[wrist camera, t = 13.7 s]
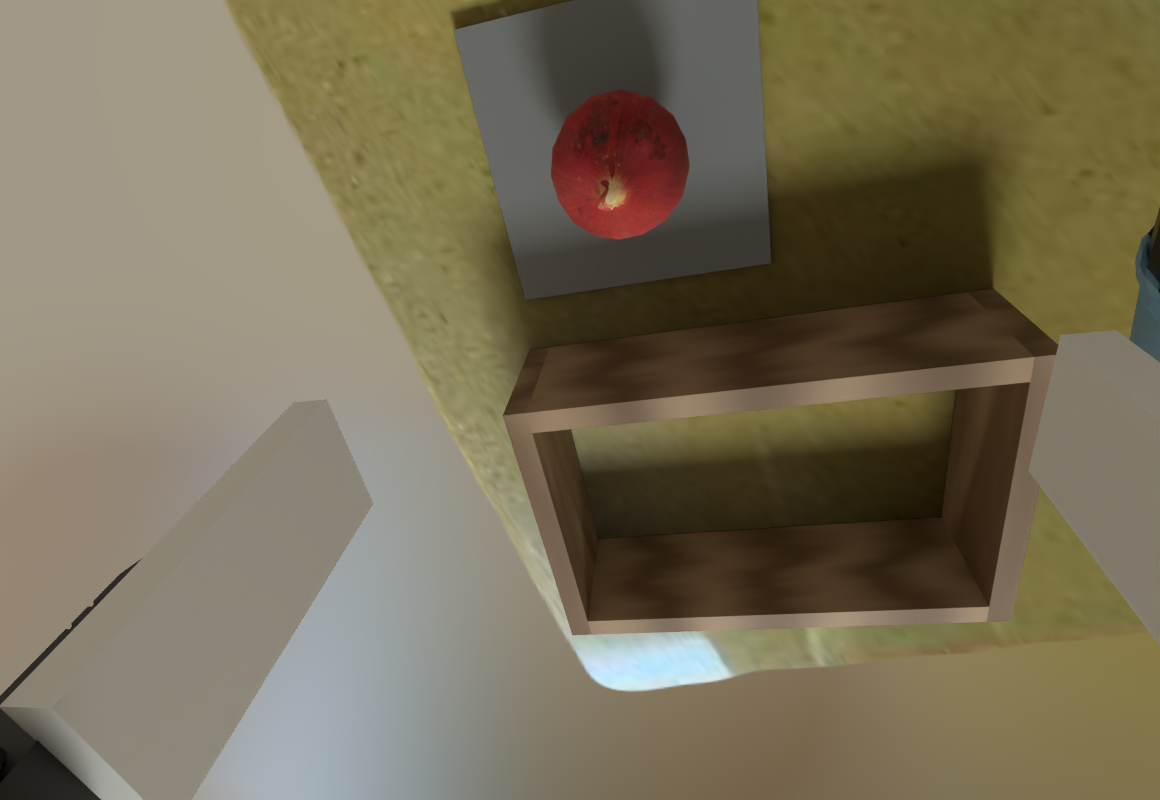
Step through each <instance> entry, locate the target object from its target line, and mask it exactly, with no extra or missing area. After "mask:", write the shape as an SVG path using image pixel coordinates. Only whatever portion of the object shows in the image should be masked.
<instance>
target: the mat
mask: <svg viewBox="0 0 1160 800" xmlns="http://www.w3.org/2000/svg"><path fill="white" fill-rule="evenodd" d="M453 31H454V35H455V38H456V42H457V46H458V50H459V53H460V57H461V61H462V65H463V68H464V72H465V76H466V80H467V83H468V87H469V91H470V94H471V98H472V102H473V106H474V109H475V113H476V117H477V121H478V124H479V128H480V132H481V136H482V139H483V143H484V147H485V151H486V154H487V158H488V162H489V166H490V169H491V173H492V177H493V181H494V184H495V188H496V192H497V196H498V199H499V203H500V207H501V211H502V214H503V218H504V222H505V226H506V229H507V233H508V237H509V241H510V244H511V248H512V252H513V256H514V259H515V263H516V267H517V271H518V274H519V278H520V282H521V286H522V289H523V293H524V297H525V300H530V299H536V298H543V297H550V296H556V295H563V294H570V293H576V292H583V291H590V290H596V289H603V288H610V287H617V286H623V285H630V284H637V283H643V282H650V281H657V280H663V279H670V278H677V277H683V276H690V275H697V274H703V273H710V272H717V271H723V270H730V269H737V268H743V267H750V266H757V265H763V264H770V263H771V247H770V228H769V209H768V190H767V171H766V152H765V133H764V114H763V95H762V76H761V57H760V38H759V19H758V0H571V1H567V2H563V3H559V4H555V5H551V6H547V7H543V8H539V9H535V10H531V11H527V12H523V13H519V14H515V15H511V16H507V17H503V18H499V19H495V20H491V21H487V22H483V23H479V24H475V25H471V26H467V27H463V28H459V29H455V30H453ZM620 89H622V90H626V91H630V92H633V93H637V94H641V95H645V96H649V97H651V98H653V99H654V100H655V101H656V102H658V103H659V104H660V105H661V106H663V107H664V108H665V109H666V110H668V111H669V112H670V113H671V114H672V115H674V117H675V119H676V121H677V123H678V125H679V127H680V129H681V131H682V133H683V135H684V137H685V139H686V143H687V150H688V157H689V164H690V168H689V172H688V176H687V181H686V185H685V189H684V193H683V197H682V199H681V200H680V202H679V203H678V204H677V206H676V207H675V208H674V210H673V211H672V213H671V214H670V215H669V217H668V218H667V220H665V221H664V222H662V223H661V224H659V225H657V226H656V227H654V228H653V229H651V230H649V231H648V232H646V233H645V234H642V235H638V236H633V237H629V238H624V239H620V240H618V239H612V238H606V237H599V236H594V235H593V234H591V233H589V232H588V231H586V230H584V229H583V228H581V227H579V226H577V225H576V224H574V223H573V222H572V221H571V219H570V218H569V216H568V215H567V213H566V212H565V210H564V209H563V207H562V206H561V204H560V203H559V201H558V198H557V195H556V191H555V188H554V185H553V181H552V178H551V162H552V148H553V146H554V144H555V141H556V139H557V137H558V135H559V133H560V131H561V128H562V126H563V124H564V122H565V120H566V117H567V116H568V115H569V114H571V113H572V112H573V111H574V110H575V109H576V108H578V107H579V106H580V105H581V104H582V103H583V102H585V101H586V100H587V99H588V98H589V97H591V96H595V95H599V94H603V93H608V92H612V91H616V90H620Z"/></svg>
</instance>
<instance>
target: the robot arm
mask: <svg viewBox="0 0 1160 800" xmlns="http://www.w3.org/2000/svg"><path fill="white" fill-rule="evenodd" d="M1135 264H1136V277H1137V280H1138V283H1139V285H1140V288H1139V293H1138V299H1137V304H1136V309H1135V315H1134V320H1133V326H1132V331H1131V336H1130V340H1129V339H1127V338H1126V337H1125V336H1123V335H1122V334H1121V333H1119V332H1118V331H1117V330H1110V331H1099V332H1087V333H1076V334H1065V335H1061V336H1060V340H1059V344H1058V349H1057V353H1056V357H1055V361H1054V365H1053V370H1052V374H1051V378H1050V382H1049V386H1048V391H1047V395H1046V399H1045V403H1044V407H1043V412H1042V416H1041V420H1040V424H1039V428H1038V433H1037V437H1036V441H1035V445H1034V449H1033V453H1032V458H1031V462H1030V466H1029V470H1028V471H1029V472H1030V474H1031V475H1032V476H1033V478H1034V479H1035V480H1036V482H1037V483H1038V484H1039V486H1040V487H1041V488H1042V490H1043V491H1044V492H1045V494H1046V495H1047V496H1048V498H1049V499H1050V500H1051V502H1052V503H1053V504H1054V506H1055V507H1056V508H1057V510H1058V511H1059V512H1060V514H1061V515H1062V516H1063V518H1064V519H1065V520H1066V522H1067V523H1068V524H1069V526H1070V527H1071V528H1072V530H1073V531H1074V532H1075V534H1076V535H1077V536H1078V538H1079V539H1080V540H1081V542H1082V543H1083V544H1084V546H1085V547H1086V548H1087V550H1088V551H1089V552H1090V554H1091V555H1092V556H1093V558H1094V559H1095V560H1096V562H1097V563H1098V564H1099V566H1100V567H1101V568H1102V570H1103V571H1104V572H1105V574H1106V575H1107V576H1108V578H1109V579H1110V580H1111V582H1112V583H1113V584H1114V586H1115V587H1116V588H1117V590H1118V591H1119V592H1120V594H1121V595H1122V596H1123V598H1124V599H1125V600H1126V602H1127V603H1128V604H1129V606H1130V607H1131V608H1132V610H1133V611H1134V612H1135V614H1136V615H1137V616H1138V618H1139V619H1140V620H1141V622H1142V623H1143V624H1144V626H1145V627H1146V628H1147V630H1148V631H1149V632H1150V634H1151V635H1152V636H1153V638H1154V639H1155V640H1156V642H1157V643H1158V644H1159V645H1160V208H1159V212H1158V216H1157V219H1156V223H1155V226H1154V227H1153V228H1152V229H1151V230H1150V232H1149V233H1148V234H1147V235H1146V236H1144V237H1143V238H1142V239H1141V243H1140V246H1139V249H1138V252H1137V255H1136V261H1135ZM372 505H373V502H372V499H371V498H370V495H369V493H368V491H367V488H366V486H365V484H364V482H363V479H362V477H361V475H360V473H359V470H358V468H357V466H356V464H355V461H354V459H353V457H352V455H351V453H350V450H349V448H348V446H347V443H346V441H345V439H344V437H343V435H342V432H341V430H340V428H339V426H338V423H337V421H336V419H335V417H334V414H333V412H332V410H331V408H330V405H329V403H328V401H327V400H317V401H306V402H295V403H293V404H292V405H291V406H290V407H289V408H288V409H287V410H286V411H285V412H284V413H283V414H282V415H281V416H280V417H279V418H278V419H277V420H276V421H275V422H274V423H273V424H272V425H271V426H270V427H269V428H268V429H267V430H266V432H265V433H264V434H263V435H262V436H261V437H260V438H259V439H258V440H257V441H256V442H255V443H254V444H253V445H252V446H251V447H250V448H249V449H248V450H247V451H246V452H245V453H244V454H243V455H242V456H241V457H240V458H239V459H238V460H237V461H236V462H235V464H233V465H232V467H231V468H230V469H229V470H228V471H227V472H226V473H225V474H224V475H223V476H222V477H221V478H220V479H219V480H218V481H217V482H216V483H215V484H214V485H213V486H212V487H211V488H210V489H209V490H208V491H207V492H206V493H205V494H204V495H203V496H202V498H200V500H199V501H198V502H197V503H196V504H195V505H194V506H193V507H192V508H191V509H190V510H189V511H188V512H187V513H186V514H185V515H184V516H183V517H182V518H181V519H180V520H179V521H178V522H177V523H176V524H175V525H174V527H172V528H171V530H169V531H168V533H167V534H166V535H165V536H164V537H163V538H162V539H161V540H160V541H159V542H158V543H157V544H156V545H155V546H154V547H153V548H152V549H151V550H150V551H149V552H148V553H147V554H146V555H145V556H144V557H143V558H142V559H141V560H139V561H138V562H136V563H135V564H133V565H132V566H131V567H129V568H128V569H127V570H125V571H124V572H123V573H121V574H120V575H119V576H118V577H117V578H116V579H115V580H114V581H113V582H112V583H111V584H110V585H109V586H108V587H107V588H106V589H105V590H104V591H103V592H102V593H101V594H100V595H99V596H98V597H97V598H96V599H95V600H94V605H93V606H92V607H87V608H86V609H85V610H84V611H83V612H82V613H81V614H80V615H79V616H78V617H77V618H76V619H75V620H74V621H73V622H72V627H71V629H65V631H64V632H63V633H62V634H61V635H60V636H59V637H58V638H57V639H56V640H55V641H54V642H53V643H52V644H51V645H50V646H49V647H48V648H47V649H46V650H45V651H44V652H43V653H42V654H41V655H40V656H39V657H38V658H37V659H36V660H35V661H34V662H33V663H32V664H31V665H30V666H29V667H28V668H27V669H26V670H25V671H24V672H23V673H22V674H21V675H20V677H18V678H17V679H16V680H15V681H14V683H13V684H11V686H10V687H9V688H8V689H7V690H6V691H5V692H4V693H3V694H2V695H1V696H0V800H192V798H193V796H194V795H195V793H196V791H197V790H198V788H199V787H200V785H201V783H202V782H203V780H204V779H205V777H206V775H207V774H208V772H209V770H210V768H211V767H212V765H213V764H214V762H215V761H216V759H217V757H218V756H219V754H220V752H221V751H222V749H223V748H224V746H225V744H226V743H227V741H228V739H229V738H230V736H231V734H232V733H233V731H234V730H235V728H236V726H237V725H238V723H239V721H240V720H241V718H242V717H243V715H244V713H245V712H246V710H247V708H248V707H249V705H250V704H251V702H252V700H253V699H254V697H255V695H256V694H257V692H258V690H259V689H260V687H261V686H262V684H263V682H264V681H265V679H266V677H267V676H268V674H269V673H270V671H271V669H272V668H273V666H274V664H275V663H276V661H277V659H278V658H279V656H280V655H281V653H282V651H283V650H284V648H285V646H286V645H287V643H288V641H289V640H290V638H291V636H292V635H293V633H294V632H295V630H296V629H297V627H298V625H299V624H300V622H301V620H302V619H303V617H304V615H305V613H306V612H307V610H308V609H309V607H310V606H311V604H312V602H313V601H314V599H315V598H316V596H317V594H318V592H319V591H320V589H321V588H322V586H323V584H324V583H325V581H326V580H327V578H328V576H329V575H330V573H331V571H332V570H333V568H334V567H335V565H336V563H337V561H338V560H339V558H340V557H341V555H342V554H343V552H344V550H345V549H346V547H347V545H348V544H349V542H350V540H351V539H352V537H353V536H354V534H355V532H356V531H357V529H358V527H359V526H360V524H361V522H362V521H363V519H364V517H365V516H366V514H367V513H368V511H369V509H370V508H371V506H372Z"/></svg>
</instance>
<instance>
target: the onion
mask: <svg viewBox="0 0 1160 800" xmlns="http://www.w3.org/2000/svg"><path fill="white" fill-rule="evenodd" d="M689 168H690V164H689V157H688V150H687V143H686V139H685V137H684V135H683V133H682V131H681V129H680V127H679V125H678V123H677V121H676V119H675V117H674V115H672V114H671V113H670V112H669V111H668V110H666V109H665V108H664V107H663V106H661V105H660V104H659V103H658V102H656V101H655V100H654V99H653V98H651V97H649V96H645V95H641V94H637V93H633V92H630V91H626V90H622V89H620V90H616V91H612V92H608V93H603V94H599V95H595V96H591V97H589V98H588V99H587V100H586V101H585V102H583V103H582V104H581V105H580V106H579V107H578V108H576V109H575V110H574V111H573V112H572V113H571V114H569V115H568V116H567V117H566V120H565V122H564V124H563V126H562V128H561V131H560V133H559V135H558V137H557V139H556V141H555V144H554V146H553V148H552V162H551V178H552V181H553V185H554V188H555V191H556V195H557V198H558V201H559V203H560V204H561V206H562V207H563V209H564V210H565V212H566V213H567V215H568V216H569V218H570V219H571V221H572V222H573V223H574V224H576V225H577V226H579V227H581V228H583V229H584V230H586V231H588V232H589V233H591V234H593V235H594V236H599V237H606V238H612V239H618V240H620V239H624V238H629V237H633V236H638V235H642V234H645V233H646V232H648V231H649V230H651V229H653V228H654V227H656V226H657V225H659V224H661V223H662V222H664V221H665V220H667V218H668V217H669V215H670V214H671V213H672V211H673V210H674V208H675V207H676V206H677V204H678V203H679V202H680V200H681V199H682V197H683V193H684V189H685V185H686V181H687V176H688V172H689Z"/></svg>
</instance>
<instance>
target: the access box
mask: <svg viewBox="0 0 1160 800" xmlns="http://www.w3.org/2000/svg"><path fill="white" fill-rule="evenodd" d="M1057 349H1058V344H1056V343H1055V342H1054V341H1053V340H1052V339H1051V338H1050V337H1048V336H1047V335H1046V334H1045V333H1044V332H1043V331H1042V330H1040V329H1039V328H1038V327H1037V326H1036V325H1035V324H1034V323H1032V322H1031V321H1030V320H1029V319H1028V318H1027V317H1026V316H1024V315H1023V314H1022V313H1021V312H1020V311H1019V310H1018V309H1016V308H1015V307H1014V306H1013V305H1012V304H1011V303H1009V302H1008V301H1007V300H1006V299H1005V298H1004V297H1003V296H1001V295H1000V294H999V293H998V292H997V291H996V290H995V289H987V290H979V291H972V292H964V293H957V294H949V295H942V296H934V297H927V298H919V299H911V300H904V301H896V302H889V303H881V304H874V305H866V306H858V307H851V308H843V309H836V310H828V311H821V312H813V313H805V314H798V315H790V316H783V317H775V318H768V319H760V320H753V321H745V322H737V323H730V324H722V325H715V326H707V327H700V328H692V329H684V330H677V331H669V332H662V333H654V334H647V335H639V336H631V337H624V338H616V339H609V340H601V341H594V342H586V343H579V344H571V345H563V346H556V347H548V348H541V349H533V350H530V351H529V353H528V356H527V358H526V361H525V363H524V365H523V368H522V370H521V373H520V375H519V378H518V380H517V382H516V385H515V387H514V390H513V392H512V395H511V397H510V399H509V402H508V404H507V407H506V409H505V412H504V414H503V418H504V421H505V424H506V427H507V430H508V433H509V437H510V440H511V443H512V446H513V449H514V452H515V455H516V459H517V462H518V465H519V468H520V471H521V474H522V478H523V481H524V484H525V487H526V490H527V493H528V496H529V500H530V503H531V506H532V509H533V512H534V515H535V518H536V522H537V525H538V528H539V531H540V534H541V537H542V540H543V544H544V547H545V550H546V553H547V556H548V559H549V562H550V566H551V569H552V572H553V575H554V578H555V581H556V584H557V588H558V591H559V594H560V597H561V600H562V603H563V606H564V610H565V613H566V616H567V619H568V622H569V625H570V628H571V632H572V635H588V634H620V633H651V632H682V631H714V630H745V629H776V628H808V627H839V626H870V625H902V624H933V623H964V622H996V621H1011V620H1012V615H1013V610H1014V606H1015V601H1016V596H1017V591H1018V587H1019V582H1020V577H1021V572H1022V568H1023V563H1024V558H1025V554H1026V549H1027V544H1028V539H1029V535H1030V530H1031V525H1032V520H1033V516H1034V511H1035V506H1036V502H1037V497H1038V492H1039V487H1040V486H1039V484H1038V483H1037V482H1036V480H1035V479H1034V478H1033V476H1032V475H1031V474H1030V472H1029V471H1028V470H1029V466H1030V462H1031V458H1032V453H1033V449H1034V445H1035V441H1036V437H1037V433H1038V428H1039V424H1040V420H1041V416H1042V412H1043V407H1044V403H1045V399H1046V395H1047V391H1048V386H1049V382H1050V378H1051V374H1052V370H1053V365H1054V361H1055V357H1056V353H1057ZM947 390H956V395H955V404H954V413H953V422H952V430H951V439H950V448H949V457H948V466H947V474H946V483H945V492H944V501H943V509H942V517H934V518H919V519H903V520H888V521H872V522H857V523H841V524H826V525H810V526H795V527H779V528H763V529H748V530H732V531H717V532H701V533H686V534H670V535H655V536H639V537H624V538H608V539H599V538H598V534H597V530H596V526H595V522H594V519H593V515H592V511H591V507H590V503H589V499H588V495H587V491H586V487H585V483H584V480H583V476H582V472H581V468H580V464H579V460H578V456H577V452H576V448H575V444H574V441H573V437H572V433H571V429H578V428H588V427H598V426H607V425H617V424H627V423H636V422H646V421H656V420H666V419H675V418H685V417H695V416H704V415H714V414H724V413H734V412H743V411H753V410H763V409H772V408H782V407H792V406H802V405H811V404H821V403H831V402H840V401H850V400H860V399H870V398H879V397H889V396H899V395H908V394H918V393H928V392H938V391H947Z"/></svg>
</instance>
